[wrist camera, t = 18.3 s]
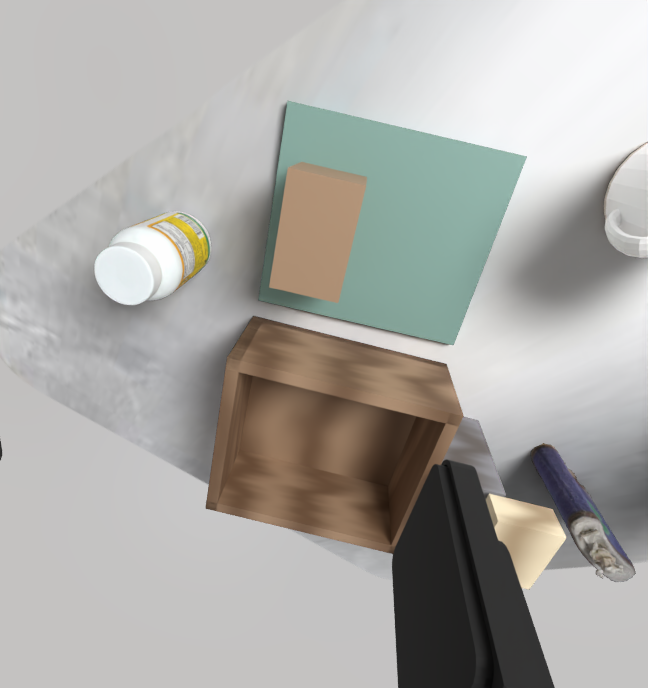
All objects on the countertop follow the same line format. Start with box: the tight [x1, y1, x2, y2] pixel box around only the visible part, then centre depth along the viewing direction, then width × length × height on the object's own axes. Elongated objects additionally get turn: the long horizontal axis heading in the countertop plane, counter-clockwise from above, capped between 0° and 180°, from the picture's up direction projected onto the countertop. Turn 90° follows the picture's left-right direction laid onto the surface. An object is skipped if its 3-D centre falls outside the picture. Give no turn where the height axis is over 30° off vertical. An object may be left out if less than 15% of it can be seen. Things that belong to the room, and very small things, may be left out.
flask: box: [531, 443, 636, 582], centre depth 39 cm, size 9×3×11 cm, turn 39°
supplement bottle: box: [94, 211, 211, 305], centre depth 32 cm, size 5×5×10 cm
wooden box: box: [206, 316, 506, 554], centre depth 38 cm, size 23×16×10 cm
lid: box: [258, 101, 527, 345], centre depth 32 cm, size 17×15×7 cm
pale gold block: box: [486, 494, 566, 589], centre depth 33 cm, size 5×6×3 cm
